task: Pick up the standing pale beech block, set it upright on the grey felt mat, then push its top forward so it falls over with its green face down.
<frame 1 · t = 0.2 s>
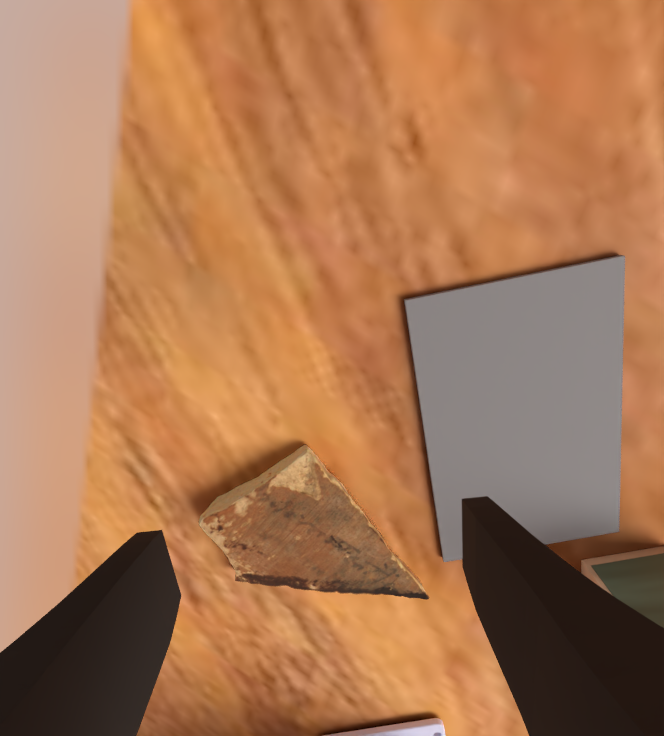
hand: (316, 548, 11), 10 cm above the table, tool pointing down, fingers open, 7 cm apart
shard: (325, 507, 23), on the table
felt mat: (520, 425, 21), on the table
beech block: (623, 570, 24), on the table
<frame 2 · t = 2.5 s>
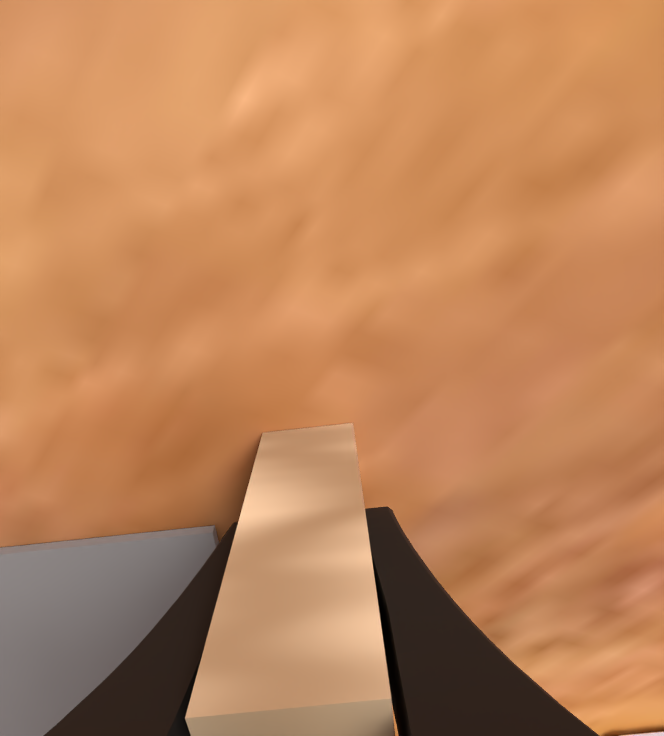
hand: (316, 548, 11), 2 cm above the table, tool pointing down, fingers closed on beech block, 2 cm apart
felt mat: (27, 661, 14), on the table
beech block: (318, 499, 12), on the table, touching gripper
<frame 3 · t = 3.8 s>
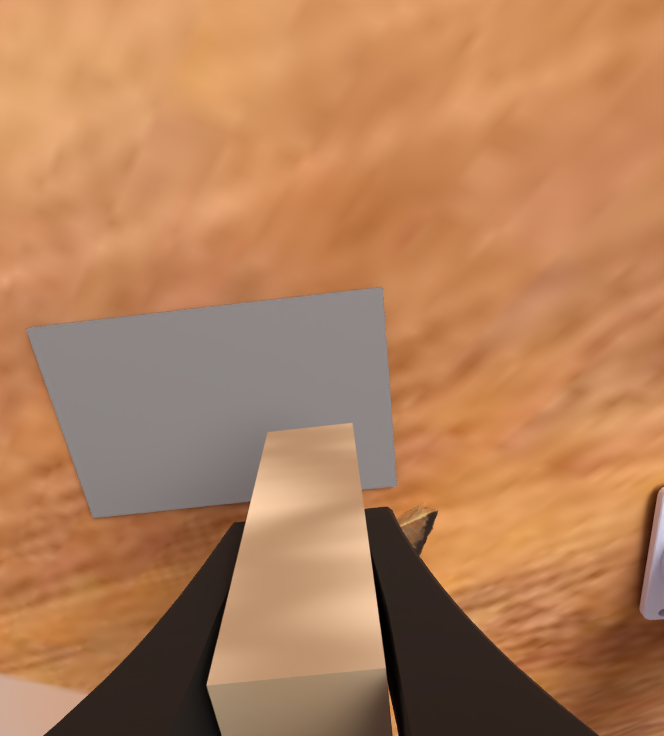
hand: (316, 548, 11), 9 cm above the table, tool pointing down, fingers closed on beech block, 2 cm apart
shard: (325, 571, 23), on the table
felt mat: (226, 410, 19), on the table
beech block: (319, 494, 13), point 6 cm above the table, touching gripper
when the fingers open (2 cm above the table, at t = 5.2 s): beech block stays where it is, resting on felt mat.
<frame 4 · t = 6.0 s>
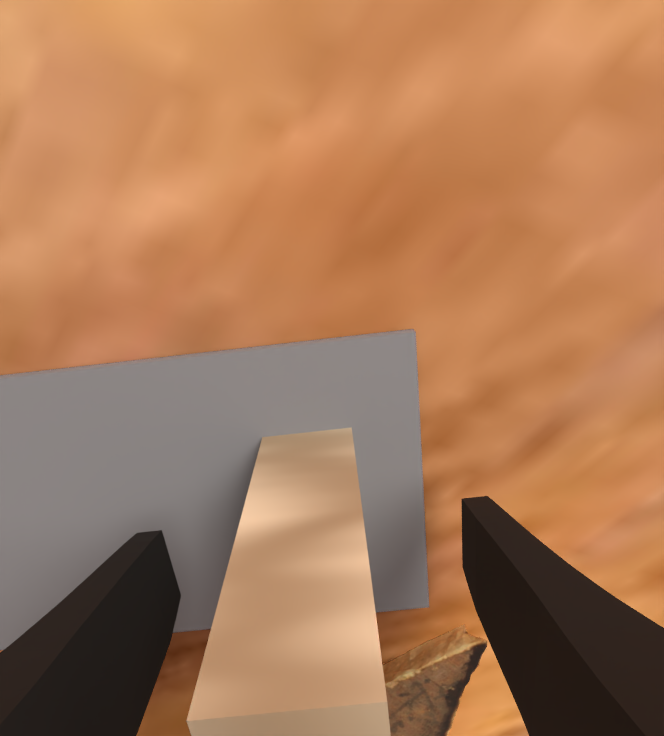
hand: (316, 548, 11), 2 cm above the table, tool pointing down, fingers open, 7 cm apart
shard: (325, 702, 17), on the table
felt mat: (180, 505, 13), on the table
beech block: (317, 502, 13), resting on felt mat
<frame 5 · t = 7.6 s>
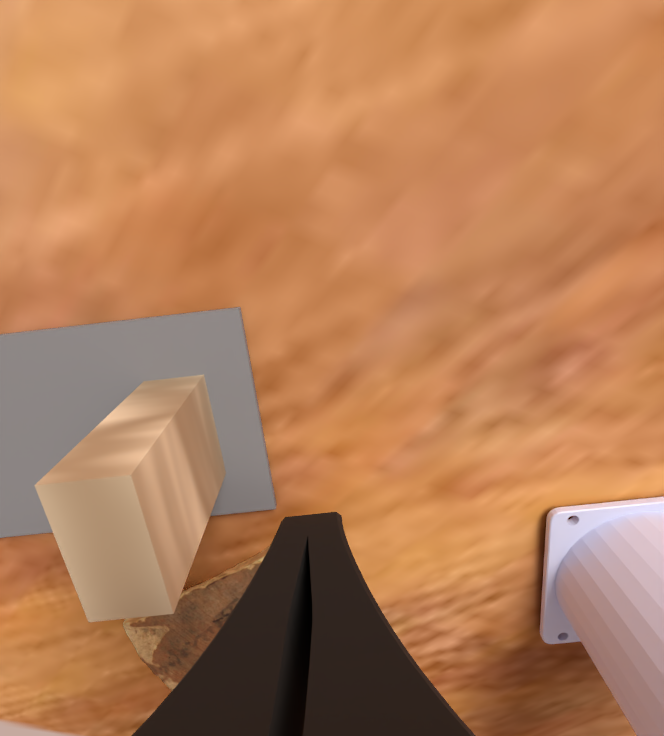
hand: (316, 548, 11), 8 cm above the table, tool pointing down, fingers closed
shard: (217, 593, 22), on the table
felt mat: (93, 432, 19), on the table
beech block: (186, 429, 18), resting on felt mat
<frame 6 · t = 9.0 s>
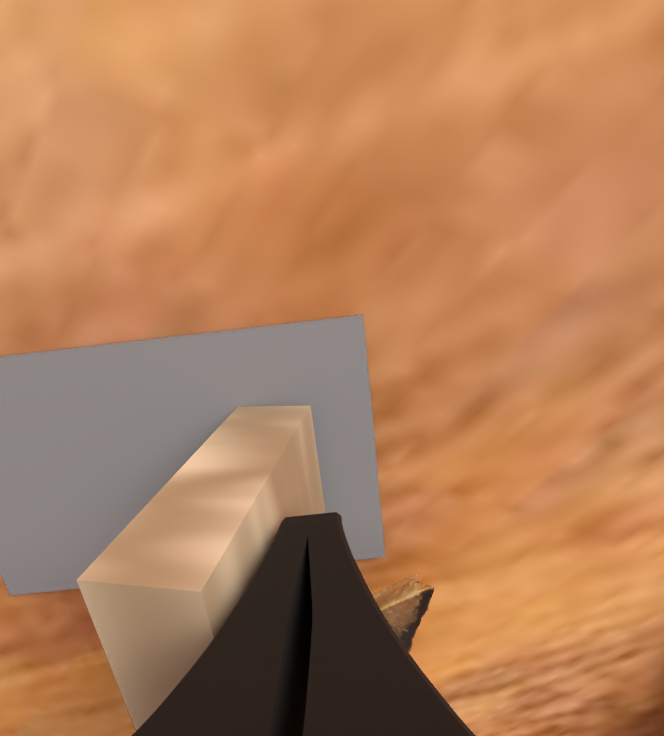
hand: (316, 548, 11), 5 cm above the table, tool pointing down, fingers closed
shard: (300, 648, 19), on the table
felt mat: (170, 466, 15), on the table
beech block: (284, 468, 15), point 1 cm above the table, tilted 13°, touching felt mat
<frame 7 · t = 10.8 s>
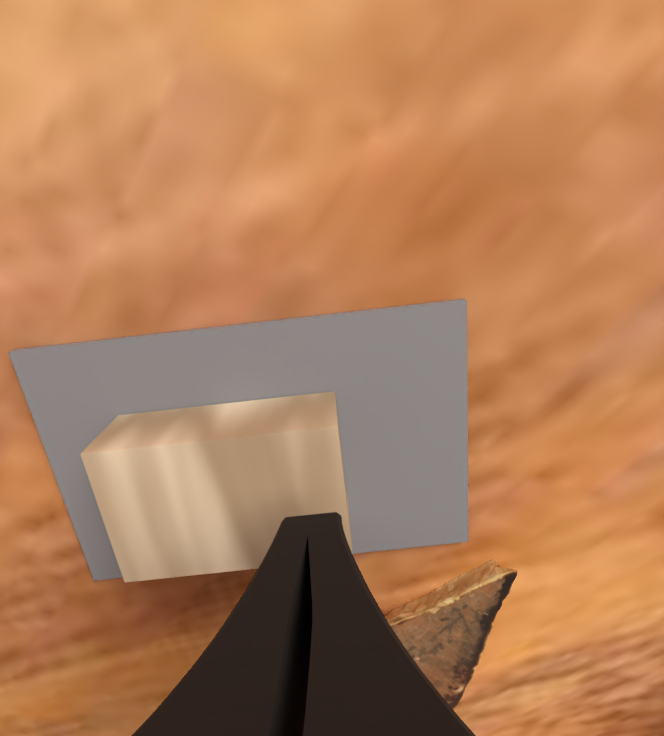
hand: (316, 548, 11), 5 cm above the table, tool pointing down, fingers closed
shard: (370, 635, 19), on the table
felt mat: (261, 451, 15), on the table
beech block: (343, 472, 14), point 2 cm above the table, tilted 90°, touching felt mat
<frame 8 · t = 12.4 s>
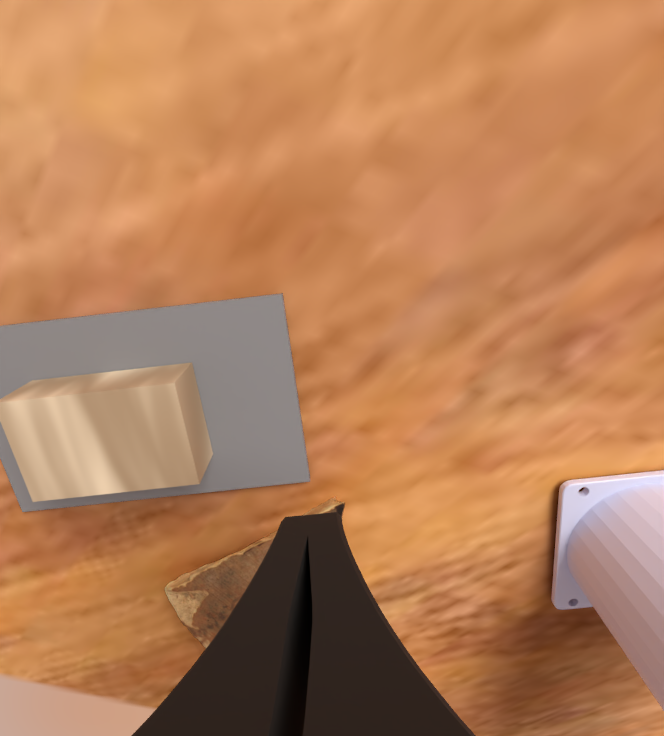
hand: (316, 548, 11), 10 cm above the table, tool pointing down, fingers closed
shard: (250, 562, 24), on the table
felt mat: (144, 409, 20), on the table
beech block: (195, 422, 19), point 2 cm above the table, tilted 90°, touching felt mat
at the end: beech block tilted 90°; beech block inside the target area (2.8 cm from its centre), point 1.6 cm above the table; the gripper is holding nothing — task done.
